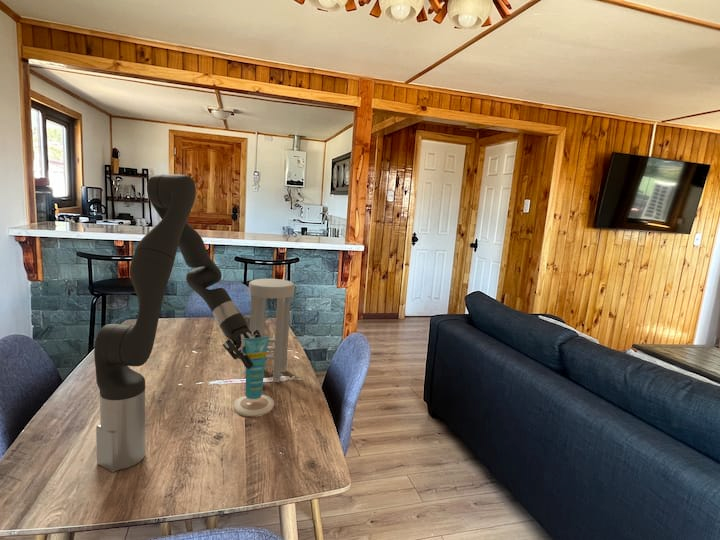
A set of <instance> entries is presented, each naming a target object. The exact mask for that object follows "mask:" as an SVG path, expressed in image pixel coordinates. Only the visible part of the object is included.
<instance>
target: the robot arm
mask: <svg viewBox="0 0 720 540" xmlns="http://www.w3.org/2000/svg"><path fill="white" fill-rule="evenodd" d="M196 186H197V185H196V183H195V180H194V179H193V178H192V177H191V176H189V175H187V174H178V173H177V174H173V173H171V174H169V173H168V174H167V173H166V174H165V173H164V174H158V173H157V174H153V175H151V176H149V179H148V180H147V184H146V191H147V197H148V199H149V201H150V204H151V205H152V207H153V208H154V210H155V211H156V212H157V214H158V216H159V217H160V218H161V220H160V221H159V222H158V223H157V224H156V225H155V226H154V227H152V229H151V230H149V232H147V234H145V235H144V236H143V237H142V238H141V240H140V241H139V242H138V243H137V246H136V247H135V250H134V253H133V255H132V259H131V262H130V265H129V277H130V280H131V283H132V287H133V289H134V292H135V294H136V297H137V301H138V313H137V318H136V322H135V324H134V325H133V324H126V323H125V324H124V323H123V324H121V323H107V324H105V325H103V326H102V327H101V328H100V329H99V330H98V331H97V334H96V336H95V340H94V346H93V347H94V348H93V354H94V365H95V379H96V384H97V387H98V389H99V415H100V417H99V419H100V421H99V422H100V423H99V424H98V425H96V429H95V431H96V464H97V465H99V466H101V467H102V468H105V469H106V470H108V471H110V472H111V473H115V472H116V471H119V470H124V469H128V468H131V467H133V466H136V465H137V464H139V463H140V462H142V461H143V459H144V457H146V379H145V377H144V375H142V374H141V373H139V372H137V371H136V370H134V369H132V368H131V367H141V366H143V365H145V364H146V363H147V362H148V361H149V358H150V357H151V354H152V351H153V348H154V344H155V340H156V336H157V335H156V333H157V329H158V323H159V319H160V312H161V308H162V305H163V300H164V297H165V294H166V290H167V286H168V283H169V280H170V277H171V273H172V270H173V267H174V263H175V260H176V256H177V252H178V248H179V251H180V253H181V255H182V257H183V260H184V262H185V264H186V265H187V266H188V267H189V268H193V269H191V270H190V271H188V272H187V274H186V276H185V279H186V280H185V281H186V283H187V284H188V286H189V287H190V289H192V290H193V291H194V292H195V293H196V294H197V295H198V296H199V297H201V298H202V299H203V301H204V302H205V304H206V305H207V306H208V308H209V310H210V311H211V313H212V316H213V318H214V319H215V321H216V322H217V324H218V326H219V328H220V329H221V331H222V333H223V335H224V336H225V337H226V338H228V339H227V340H226V341H224V343H223V344H222V347H223V348H225V350H226V351H227V352H228V353H229V355H230V356H231V358H232V359H233V360H240V361H241V362H242V364H243V365H244V367H245V369H246V368H247V369H250V368H251V367H253V363H252V362H251V360H250V358H249V357H248V355H246V351H245V341H244V339H245V338H260V337H261V335H260V333H259V331H258V330H256V331H253V332H251V331H250V330H249V329H248V327H247V326H248V324H247V322H246V320H245V319H244V317H243V316H242V314H243V313H242V312H241V311H240V309H239V308H238V306H237V305H236V304H235V302H234V301H233V300H232V298H231V297H230V295H229V293H228V292H227V290H226V289H225V288H224V287H218V288H212V289H209V287H211V286H213V285H216V284H217V283H219V282H220V281H221V279H222V276H223V275H222V271H221V270H220V267H219V266H218V265H216V263H215V262H214V261H213V260H212V259H211V256H210V255H209V252H208V251H207V248H206V245H205V243H204V240H203V238H202V236H201V235H200V233H198V231H197V230H196V229H195V228H194V227H193V226H191V224H189V223H188V219H189V218H190V217H189V216H190V214H191V211H192V210H193V207H194V204H195V200H196V195H197V187H196ZM267 360H268V359H266V361H267Z"/></svg>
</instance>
